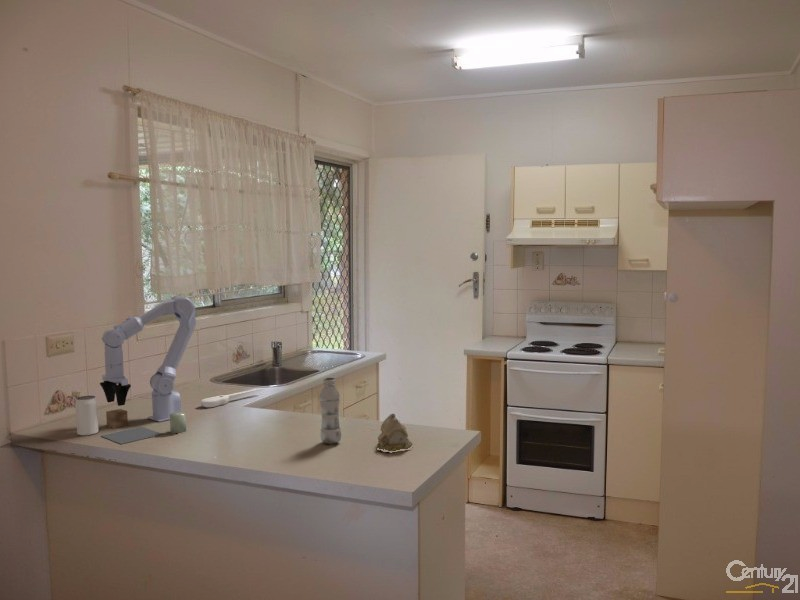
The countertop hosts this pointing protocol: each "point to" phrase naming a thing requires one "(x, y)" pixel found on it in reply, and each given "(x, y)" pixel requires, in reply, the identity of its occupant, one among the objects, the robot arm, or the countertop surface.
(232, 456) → the countertop surface
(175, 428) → the sage cylinder
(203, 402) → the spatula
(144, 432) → the slate mat
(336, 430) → the plastic bottle
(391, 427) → the ceramic model
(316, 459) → the countertop surface
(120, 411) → the walnut block
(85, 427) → the can
